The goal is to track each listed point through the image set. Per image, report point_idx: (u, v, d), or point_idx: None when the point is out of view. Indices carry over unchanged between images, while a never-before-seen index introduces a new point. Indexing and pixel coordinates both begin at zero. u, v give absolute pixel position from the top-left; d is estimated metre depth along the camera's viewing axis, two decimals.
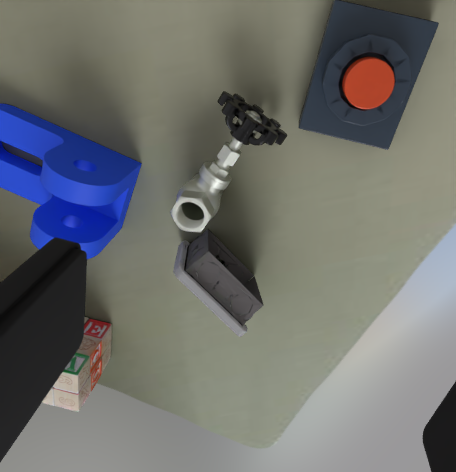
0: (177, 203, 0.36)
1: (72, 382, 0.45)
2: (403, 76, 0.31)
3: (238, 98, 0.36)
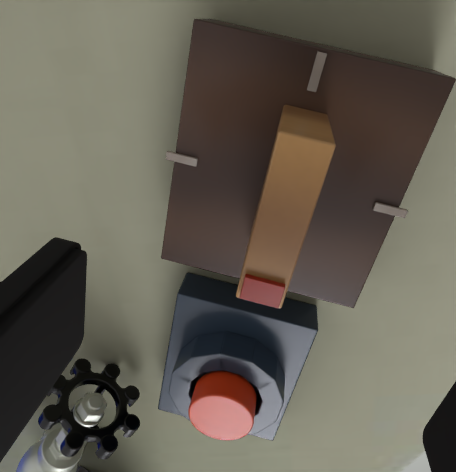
0: None
1: None
2: (271, 398, 0.23)
3: (78, 371, 0.27)
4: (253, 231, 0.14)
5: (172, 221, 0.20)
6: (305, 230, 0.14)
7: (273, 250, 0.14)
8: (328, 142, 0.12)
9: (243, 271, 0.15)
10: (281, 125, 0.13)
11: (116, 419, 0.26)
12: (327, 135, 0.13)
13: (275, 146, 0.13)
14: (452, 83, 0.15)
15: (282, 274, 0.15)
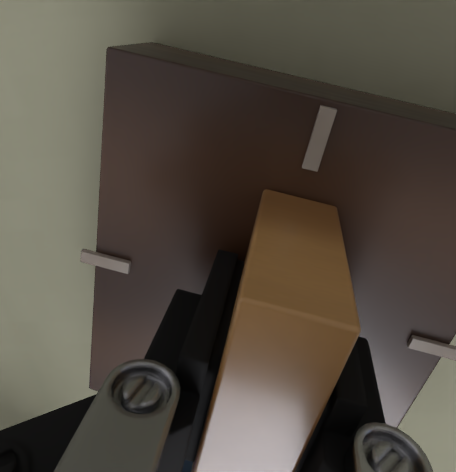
0: None
1: None
2: None
3: None
4: (200, 450, 0.07)
5: (100, 343, 0.13)
6: (297, 459, 0.07)
7: None
8: (345, 323, 0.06)
9: None
10: (248, 270, 0.06)
11: None
12: (341, 290, 0.06)
13: (233, 323, 0.06)
14: None
15: None
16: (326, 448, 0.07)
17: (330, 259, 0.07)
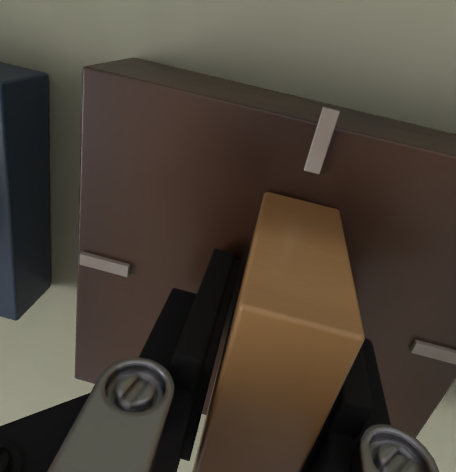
0: None
1: None
2: None
3: None
4: (199, 458, 0.07)
5: (178, 104, 0.09)
6: (299, 468, 0.07)
7: None
8: (348, 331, 0.06)
9: None
10: (249, 276, 0.06)
11: None
12: (344, 297, 0.06)
13: (234, 331, 0.06)
14: None
15: None
16: (332, 450, 0.07)
17: (333, 264, 0.07)
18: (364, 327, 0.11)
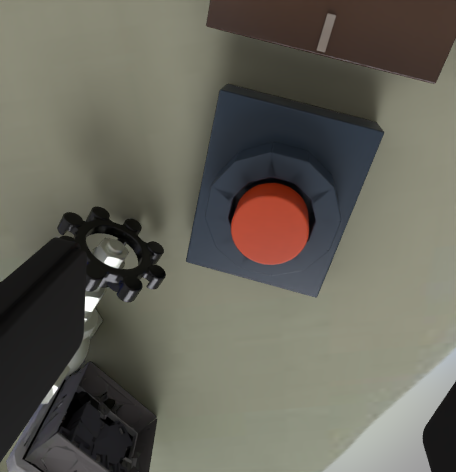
0: None
1: None
2: (327, 214, 0.19)
3: (96, 216, 0.24)
4: None
5: None
6: None
7: None
8: None
9: None
10: None
11: (139, 265, 0.23)
12: None
13: None
14: None
15: None
16: None
17: None
18: None
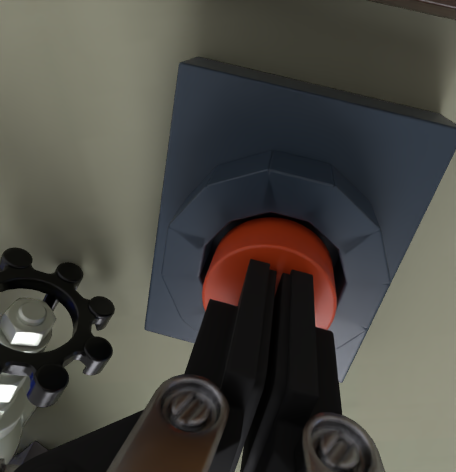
0: None
1: None
2: (366, 273, 0.11)
3: (8, 264, 0.16)
4: None
5: None
6: None
7: None
8: None
9: None
10: None
11: (70, 342, 0.15)
12: None
13: None
14: None
15: None
16: (278, 438, 0.07)
17: None
18: None
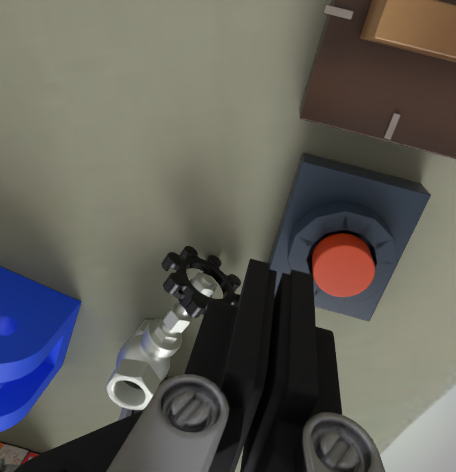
0: (112, 380, 0.29)
1: None
2: (386, 258, 0.25)
3: (189, 254, 0.29)
4: None
5: (317, 78, 0.22)
6: None
7: None
8: None
9: None
10: (371, 36, 0.18)
11: (227, 295, 0.28)
12: None
13: (385, 40, 0.17)
14: None
15: None
16: (278, 438, 0.07)
17: (379, 2, 0.18)
18: None
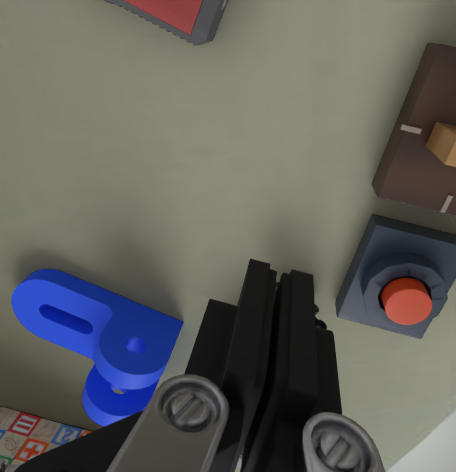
0: None
1: None
2: (439, 295, 0.33)
3: None
4: None
5: (392, 171, 0.30)
6: None
7: None
8: (455, 140, 0.25)
9: None
10: (441, 160, 0.26)
11: None
12: (451, 136, 0.25)
13: (452, 165, 0.25)
14: None
15: None
16: (278, 438, 0.07)
17: (445, 135, 0.26)
18: None
